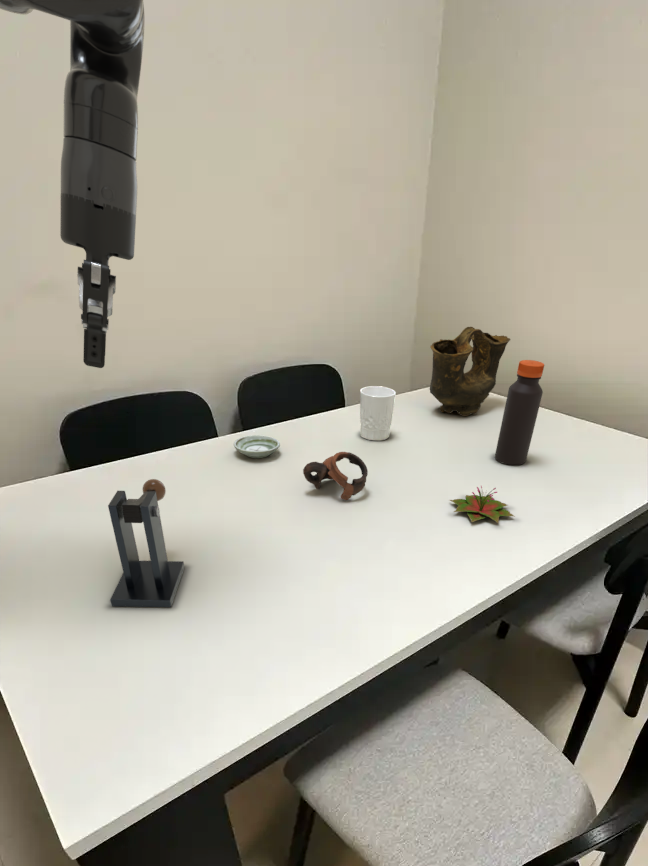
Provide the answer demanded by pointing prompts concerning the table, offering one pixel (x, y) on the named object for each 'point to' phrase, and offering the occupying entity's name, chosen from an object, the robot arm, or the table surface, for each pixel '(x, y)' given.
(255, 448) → the saucer
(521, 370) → the bottle
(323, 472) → the brown curved ring piece
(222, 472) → the table surface
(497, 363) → the pottery vessel
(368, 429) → the white cup
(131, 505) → the lever
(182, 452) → the table surface
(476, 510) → the lily flower
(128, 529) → the bracket
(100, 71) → the robot arm
